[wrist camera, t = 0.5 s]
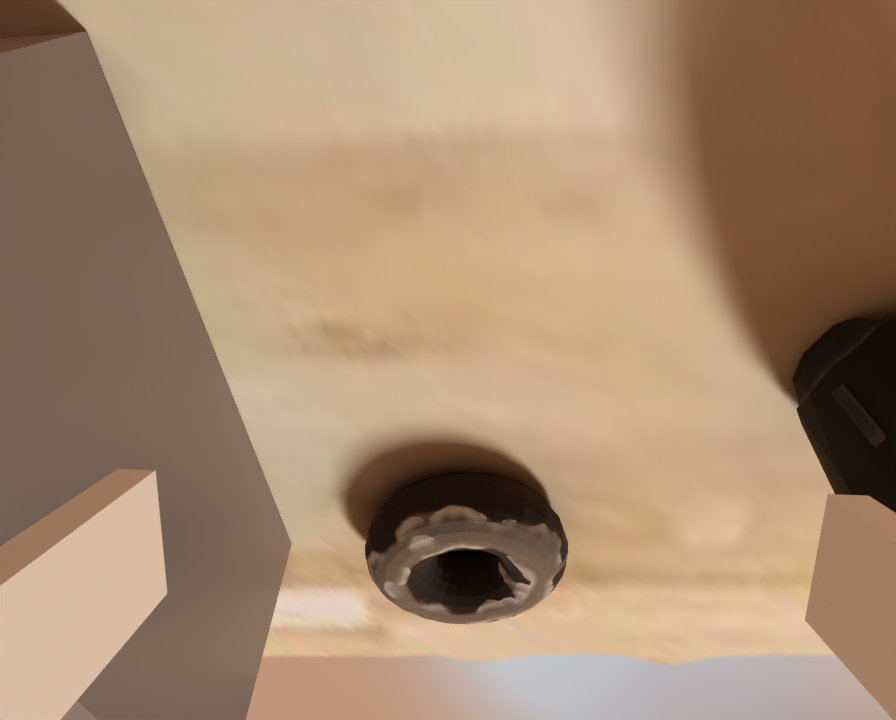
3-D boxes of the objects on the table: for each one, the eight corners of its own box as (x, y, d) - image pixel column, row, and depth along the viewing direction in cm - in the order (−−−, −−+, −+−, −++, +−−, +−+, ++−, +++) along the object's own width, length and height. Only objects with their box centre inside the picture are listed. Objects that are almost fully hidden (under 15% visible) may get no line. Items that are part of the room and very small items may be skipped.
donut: (410, 590, 39) (407, 648, 35) (337, 483, 32) (325, 544, 29) (577, 559, 36) (589, 619, 33) (536, 437, 30) (547, 497, 26)
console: (-148, 49, 18) (-1060, 221, 7) (86, 30, 18) (-497, 180, 7) (167, 548, 35) (36, 830, 24) (291, 543, 35) (217, 828, 24)
